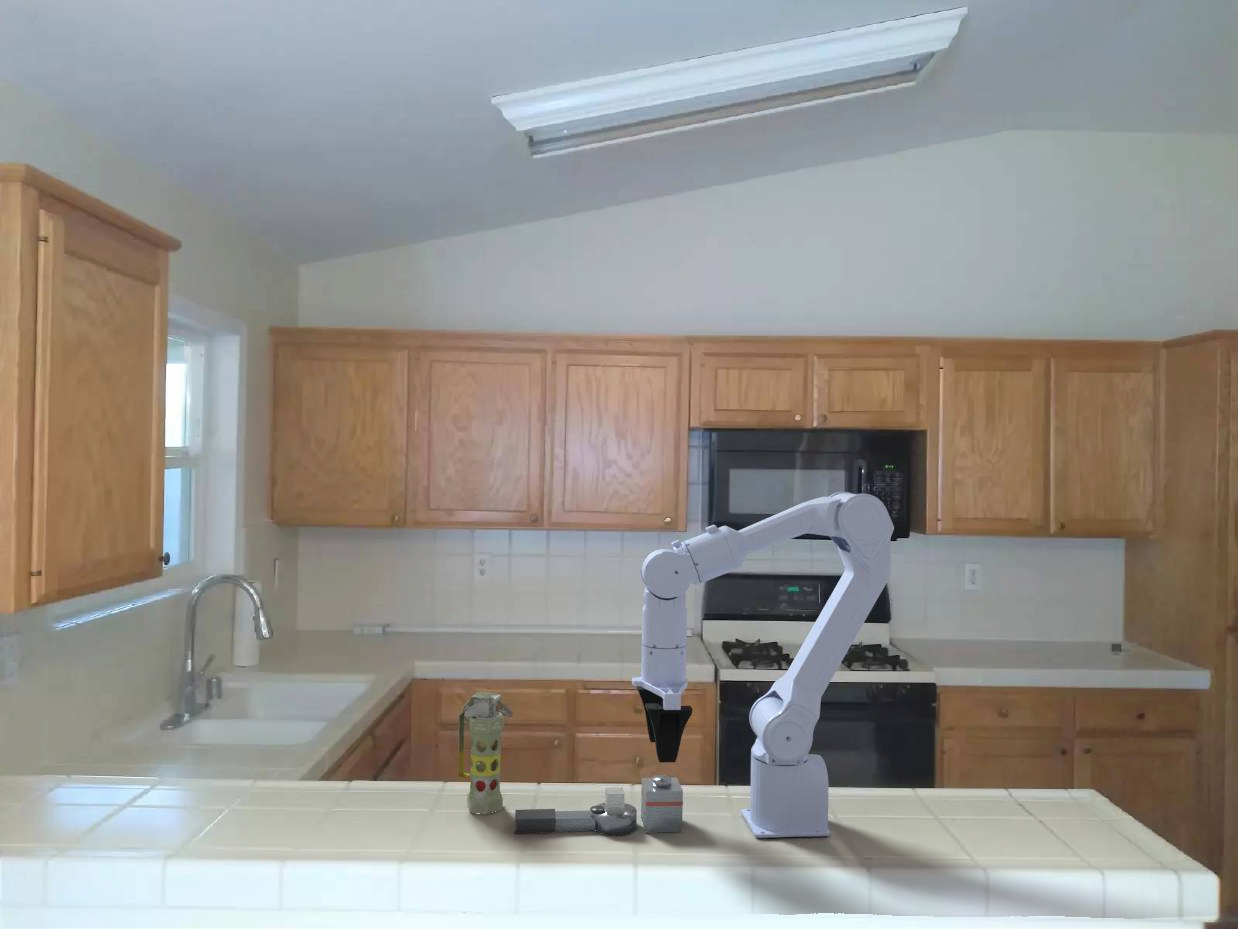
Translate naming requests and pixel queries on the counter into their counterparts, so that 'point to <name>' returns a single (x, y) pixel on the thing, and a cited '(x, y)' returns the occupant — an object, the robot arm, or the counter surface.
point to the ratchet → (582, 817)
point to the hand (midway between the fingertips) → (662, 751)
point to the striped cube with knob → (661, 804)
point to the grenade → (483, 751)
